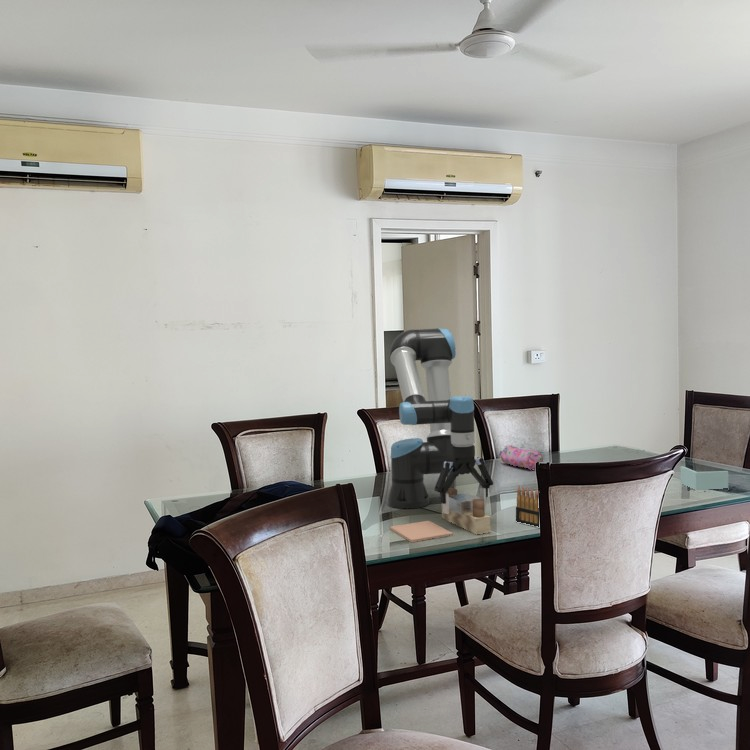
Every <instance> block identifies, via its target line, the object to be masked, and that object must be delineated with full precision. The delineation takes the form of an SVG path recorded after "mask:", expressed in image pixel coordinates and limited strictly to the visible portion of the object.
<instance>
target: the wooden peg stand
mask: <svg viewBox="0 0 750 750" xmlns="http://www.w3.org/2000/svg"><path fill="white" fill-rule="evenodd" d="M446 493H448V494H449V496H451V495H458V489H456V488H454V487H450V488H449V489H448V491H447V492H446ZM472 505H473V513H469V514H462V515H460V514H458V513H456V512H454V511H452V510H450V509H449V514H445V513H443V503H441V517H442V518H441V519H442V520H445V519H446V520H445V521H447V522H449V523H451V522H452V524H453V525H455V524H456V526H457V525H458V526H457V527H459V526H460V527H459V528H461V527H462V528H461V529H463V528H464V529H463V530H465V529H466V530H465V531H467V530H468V531H467V532H469V531H470V532H469V533H471V532H472V533H471V534H473V533H474V535H475V534H476V535H475V536H478V535H477V534H480V535H484V534H483V533H486V534H489V533H488V532H490V533H491V516H489V515H488V514H485V509H484V499H473V500H472Z"/></svg>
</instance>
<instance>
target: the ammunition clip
mask: <svg viewBox="0 0 750 750" xmlns="http://www.w3.org/2000/svg"><path fill="white" fill-rule="evenodd" d="M538 498H539V492H538V489H537V488H536V489H535V490H533V488H530V490H529V487H526V490H525V486H522V488H521V487H520V485H518V486H517V491H516V507H515V522H516V521H517V522H521V523H526V524H530V525H534V526H538V527H539V508H538ZM517 522H516V523H517ZM521 523H520V524H521Z"/></svg>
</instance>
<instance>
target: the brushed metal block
mask: <svg viewBox="0 0 750 750" xmlns="http://www.w3.org/2000/svg"><path fill="white" fill-rule="evenodd" d="M473 499H482V498H480V496H477V495H474V494H472V493H469V492H465V493H459V494H458V493H457V495H451V496H449V509H450V510H452V511H454V512H456V513H458V514H460V515H462V514H469V513H473V505H472V500H473Z"/></svg>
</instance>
